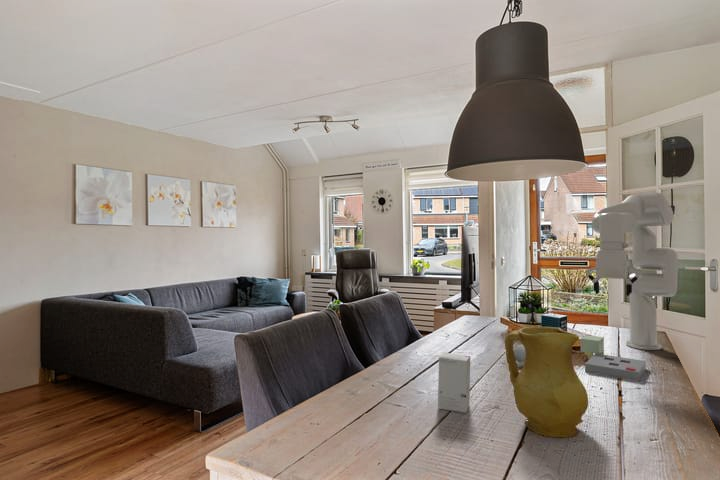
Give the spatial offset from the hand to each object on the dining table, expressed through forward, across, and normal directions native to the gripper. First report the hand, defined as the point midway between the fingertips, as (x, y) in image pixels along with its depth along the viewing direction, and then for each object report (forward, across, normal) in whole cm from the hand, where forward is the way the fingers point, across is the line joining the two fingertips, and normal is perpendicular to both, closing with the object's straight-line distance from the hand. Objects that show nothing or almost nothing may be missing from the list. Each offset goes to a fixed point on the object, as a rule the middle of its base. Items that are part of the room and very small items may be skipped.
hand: (612, 294), depth 151 cm
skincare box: (+28, +30, +65) cm, 77 cm away
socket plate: (+27, -1, +2) cm, 27 cm away
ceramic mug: (+27, +26, +14) cm, 41 cm away
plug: (+27, +9, -10) cm, 30 cm away
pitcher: (+28, +5, +61) cm, 67 cm away
